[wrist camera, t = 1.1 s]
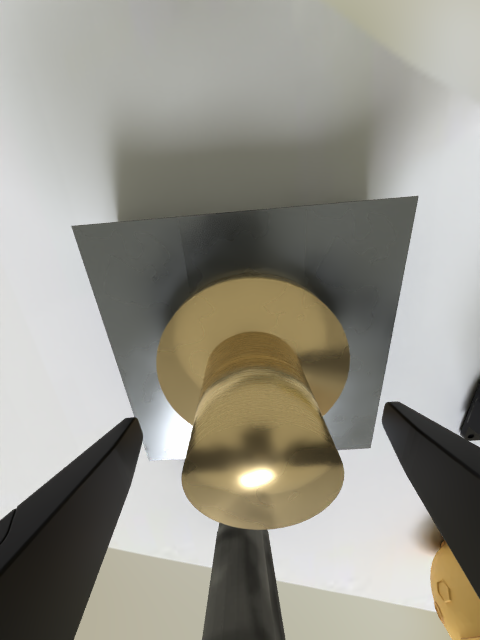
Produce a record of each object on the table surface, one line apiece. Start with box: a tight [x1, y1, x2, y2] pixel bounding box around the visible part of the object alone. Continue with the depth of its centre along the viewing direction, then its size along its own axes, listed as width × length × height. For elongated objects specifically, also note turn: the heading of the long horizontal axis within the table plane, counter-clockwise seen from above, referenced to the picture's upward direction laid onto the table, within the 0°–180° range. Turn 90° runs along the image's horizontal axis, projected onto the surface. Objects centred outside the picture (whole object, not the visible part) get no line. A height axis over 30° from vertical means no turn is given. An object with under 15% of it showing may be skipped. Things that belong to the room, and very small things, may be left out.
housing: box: [72, 196, 418, 461], centre depth 14 cm, size 14×14×4 cm
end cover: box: [156, 273, 350, 530], centre depth 11 cm, size 9×9×9 cm
